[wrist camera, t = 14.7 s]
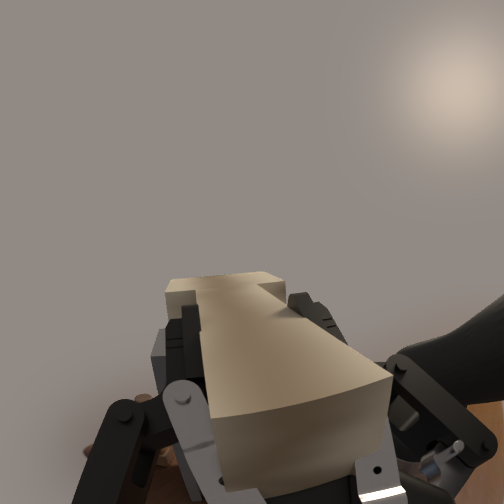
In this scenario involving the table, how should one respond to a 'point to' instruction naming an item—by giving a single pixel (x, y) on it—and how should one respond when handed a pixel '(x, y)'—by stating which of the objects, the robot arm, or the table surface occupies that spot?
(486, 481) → the table surface
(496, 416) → the table surface
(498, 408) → the table surface
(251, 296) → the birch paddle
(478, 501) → the table surface
